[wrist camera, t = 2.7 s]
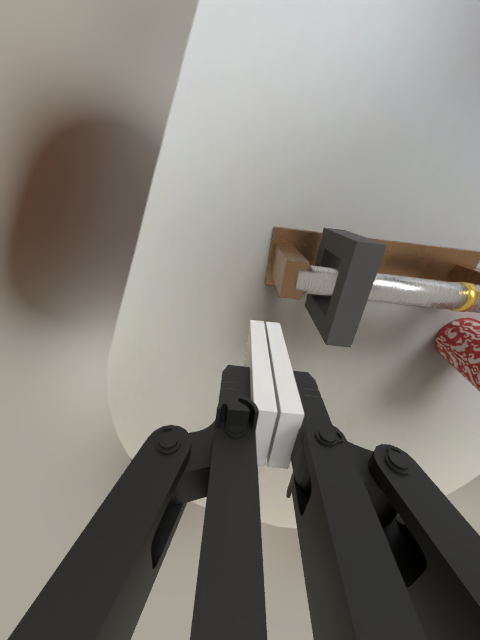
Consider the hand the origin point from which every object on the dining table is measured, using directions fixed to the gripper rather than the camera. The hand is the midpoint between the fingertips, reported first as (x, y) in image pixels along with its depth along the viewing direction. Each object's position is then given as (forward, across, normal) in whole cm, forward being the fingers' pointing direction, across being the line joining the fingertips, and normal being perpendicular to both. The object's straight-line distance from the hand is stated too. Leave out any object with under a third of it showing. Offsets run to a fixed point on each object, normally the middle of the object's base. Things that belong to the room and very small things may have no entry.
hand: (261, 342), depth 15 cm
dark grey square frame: (+19, +9, 0) cm, 21 cm away
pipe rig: (+24, +17, 0) cm, 30 cm away
